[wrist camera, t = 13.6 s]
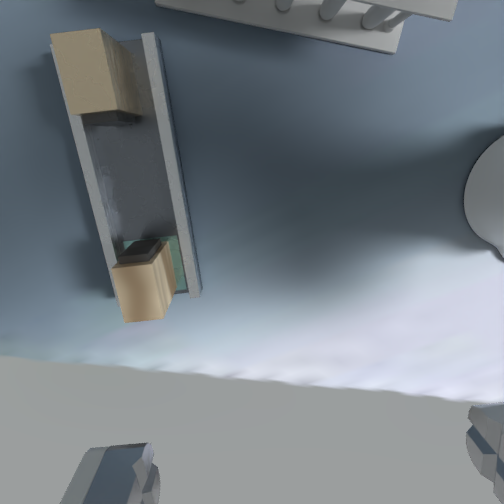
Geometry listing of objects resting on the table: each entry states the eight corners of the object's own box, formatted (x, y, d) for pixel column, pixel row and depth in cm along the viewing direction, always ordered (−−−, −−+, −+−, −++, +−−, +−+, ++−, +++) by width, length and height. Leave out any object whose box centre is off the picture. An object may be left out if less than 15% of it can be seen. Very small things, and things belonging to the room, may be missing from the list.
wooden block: (167, 234, 41) (150, 256, 33) (177, 286, 43) (163, 318, 36) (133, 238, 41) (109, 261, 33) (145, 290, 43) (124, 323, 36)
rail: (160, 40, 36) (134, 8, 27) (202, 287, 44) (193, 323, 36) (63, 51, 36) (8, 24, 27) (125, 296, 44) (97, 334, 36)
